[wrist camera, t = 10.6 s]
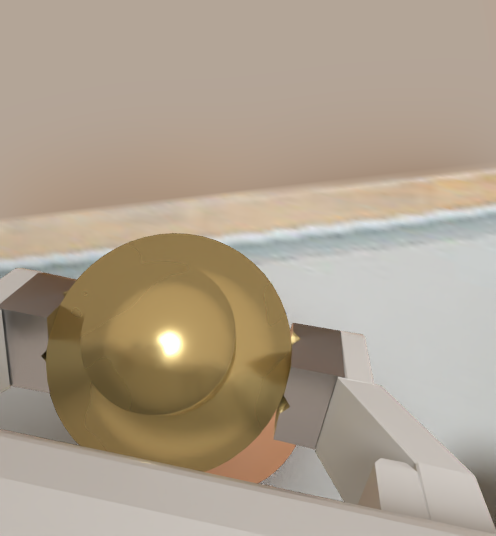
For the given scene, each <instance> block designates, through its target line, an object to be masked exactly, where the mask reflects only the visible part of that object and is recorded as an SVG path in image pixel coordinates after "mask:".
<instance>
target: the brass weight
mask: <svg viewBox="0 0 496 536" xmlns="http://www.w3.org/2000/svg"><path fill="white" fill-rule="evenodd" d="M290 359H291V335H290V328H289V324H288V320H287V316H286V312H285V310H284V307H283V305H282V302H281V300H280V298H279V296H278V294H277V292H276V290H275V289H274V287H273V285H272V284H271V283H270V281H269V280H268V278H267V277H266V276H265V274H264V273H263V272H262V271H261V270H260V269H259V268H258V267H257V266H256V265H255V264H254V263H253V262H252V261H250V260H249V259H248V258H247V257H245V256H244V255H243V254H241V253H240V252H238V251H236V250H235V249H233V248H231V247H230V246H227V245H225V244H223V243H221V242H218V241H216V240H213V239H209V238H206V237H203V236H197V235H191V234H177V233H172V234H159V235H154V236H148V237H144V238H141V239H137V240H134V241H131V242H129V243H126V244H124V245H122V246H120V247H118V248H116V249H114V250H112V251H111V252H109V253H107V254H106V255H104V256H103V257H101V258H100V259H99V260H97V261H96V262H95V263H94V264H92V265H91V266H90V267H89V268H88V269H87V270H86V271H85V272H84V273H83V274H82V275H81V276H80V277H79V278H78V279H77V281H76V282H75V283H74V284H73V286H72V287H71V288H70V289H69V291H68V293H67V294H66V296H65V298H64V299H63V301H62V302H61V305H60V307H59V309H58V312H57V315H56V318H55V321H54V324H53V327H52V330H51V333H50V336H49V339H48V345H47V355H46V371H47V382H48V386H49V391H50V396H51V399H52V401H53V404H54V407H55V410H56V412H57V414H58V416H59V418H60V420H61V421H62V423H63V425H64V427H65V428H66V430H67V431H68V432H69V434H70V435H71V436H72V438H73V439H74V440H75V441H76V442H77V443H78V444H79V445H80V446H83V447H88V448H93V449H98V450H102V451H107V452H112V453H116V454H121V455H126V456H131V457H135V458H140V459H145V460H150V461H154V462H159V463H164V464H169V465H173V466H178V467H183V468H187V469H192V470H197V471H201V472H206V471H208V470H211V469H213V468H216V467H218V466H220V465H221V464H223V463H225V462H227V461H229V460H230V459H232V458H233V457H235V456H236V455H237V454H239V453H240V452H241V451H243V450H244V449H245V448H247V447H248V446H249V445H250V444H251V443H252V442H253V441H254V440H255V439H256V438H257V437H258V436H259V434H260V433H261V432H262V431H263V429H264V428H265V427H266V426H267V424H268V423H269V421H270V420H271V418H272V416H273V415H274V413H275V411H276V410H277V408H278V406H279V403H280V401H281V399H282V396H283V394H284V392H285V388H286V384H287V377H288V371H289V365H290Z"/></svg>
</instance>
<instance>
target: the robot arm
mask: <svg viewBox="0 0 496 536" xmlns="http://www.w3.org/2000/svg"><path fill="white" fill-rule="evenodd" d="M76 281H77V280H76V279H72V278H67V277H63V276H58V275H53V274H49V273H42V272H40V271H35V270H30V269H24V268H15V269H14V270H13V271H11V272H10V273H8V274H7V275H6V276H4V277H3V278H2V279H0V393H2V392H4V391H6V390H8V389H9V388H10V386H14V387H19V388H25V389H31V390H36V391H42V392H47V393H50V391H49V386H48V382H47V371H46V355H47V345H48V339H49V336H50V333H51V330H52V327H53V324H54V321H55V318H56V315H57V312H58V309H59V307H60V305H61V302H62V301H63V299H64V298H65V296H66V294H67V293H68V291H69V289H70V288H71V287H72V286H73V284H74V283H75V282H76ZM290 335H291V359H290V365H289V371H288V377H287V384H286V388H285V392H284V394H283V396H282V399H281V401H280V403H279V406H278V408H277V410H276V415H275V426H274V440H278V441H282V442H286V443H291V444H295V445H299V446H303V447H308V448H312V449H316V450H315V452H316V454H317V456H318V457H319V459H320V461H321V462H322V464H323V466H324V468H325V469H326V471H327V473H328V475H329V476H330V478H331V480H332V482H333V483H334V485H335V487H336V489H337V490H338V492H339V494H340V495H341V497H342V499H343V501H344V502H342V501H337V500H332V499H328V498H323V497H318V496H314V495H309V494H304V493H300V492H295V491H290V490H286V489H281V488H276V487H271V486H267V485H262V484H257V483H253V482H248V481H243V480H239V479H234V478H229V477H225V476H220V475H215V474H211V473H206V472H201V471H197V470H192V469H187V468H183V467H178V466H173V465H169V464H164V463H159V462H154V461H150V460H145V459H140V458H135V457H131V456H126V455H121V454H116V453H112V452H107V451H102V450H98V449H93V448H88V447H83V446H79V445H74V444H69V443H64V442H60V441H55V440H50V439H45V438H41V437H36V436H31V435H27V434H22V433H17V432H12V431H8V430H3V429H0V536H496V529H495V526H494V523H493V521H492V518H491V516H490V513H489V511H488V508H487V505H486V503H485V500H484V498H483V495H482V492H481V490H480V487H479V485H478V482H477V480H476V477H475V475H474V474H473V473H472V472H471V471H469V470H468V469H467V468H466V467H465V466H464V465H463V464H462V463H461V462H460V461H459V460H458V459H457V458H456V457H455V456H454V455H453V454H452V453H451V452H450V451H449V450H448V449H447V448H446V447H445V446H444V445H443V444H441V443H440V442H439V441H438V440H437V439H436V438H435V437H434V436H433V435H432V434H431V433H430V432H429V431H428V430H427V429H426V428H425V427H424V426H423V425H422V424H421V423H420V422H419V421H418V420H417V419H416V418H415V417H414V416H412V415H411V414H410V413H409V412H408V411H407V410H406V409H405V408H404V407H403V406H402V405H401V404H400V403H399V402H398V401H397V400H396V399H395V398H394V397H393V396H392V395H391V394H390V393H389V392H388V391H387V390H386V389H384V388H383V387H382V386H381V385H376V384H374V379H373V374H372V369H371V364H370V359H369V354H368V350H367V345H366V340H365V336H364V335H363V334H358V333H351V332H345V331H338V330H332V329H327V328H321V327H315V326H309V325H303V324H297V323H292V326H291V329H290Z"/></svg>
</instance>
